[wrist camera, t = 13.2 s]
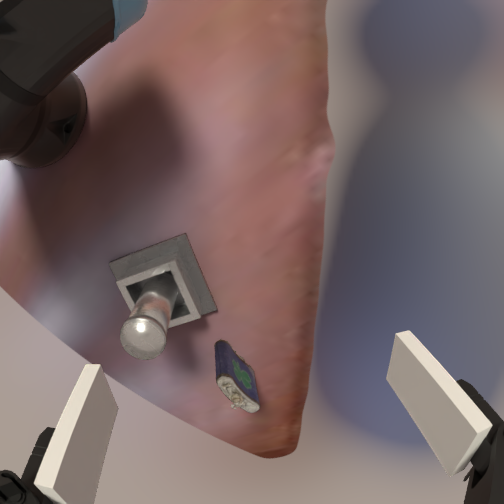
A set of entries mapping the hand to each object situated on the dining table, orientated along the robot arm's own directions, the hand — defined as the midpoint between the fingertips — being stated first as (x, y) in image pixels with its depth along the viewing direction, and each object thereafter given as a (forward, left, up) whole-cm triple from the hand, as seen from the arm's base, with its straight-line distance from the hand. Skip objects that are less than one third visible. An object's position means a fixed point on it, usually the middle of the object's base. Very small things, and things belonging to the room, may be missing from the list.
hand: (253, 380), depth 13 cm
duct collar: (+6, -12, -32) cm, 34 cm away
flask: (+22, -7, -32) cm, 39 cm away
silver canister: (+6, -12, -31) cm, 34 cm away
